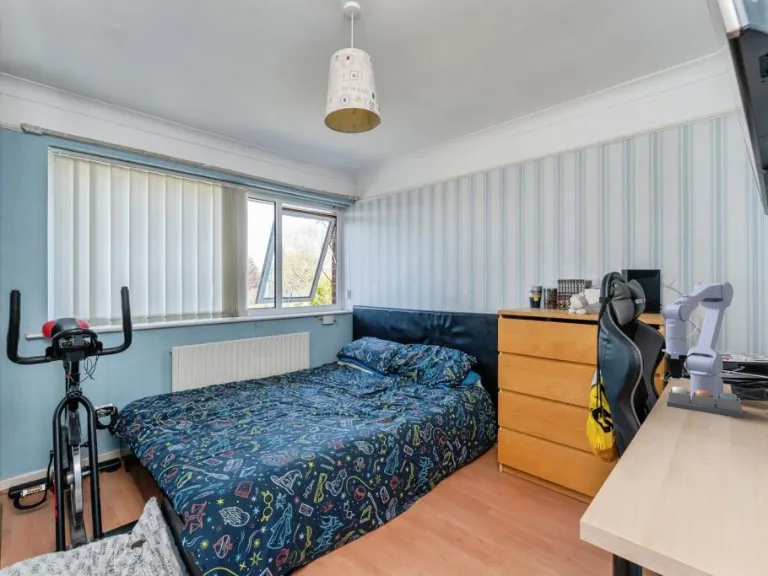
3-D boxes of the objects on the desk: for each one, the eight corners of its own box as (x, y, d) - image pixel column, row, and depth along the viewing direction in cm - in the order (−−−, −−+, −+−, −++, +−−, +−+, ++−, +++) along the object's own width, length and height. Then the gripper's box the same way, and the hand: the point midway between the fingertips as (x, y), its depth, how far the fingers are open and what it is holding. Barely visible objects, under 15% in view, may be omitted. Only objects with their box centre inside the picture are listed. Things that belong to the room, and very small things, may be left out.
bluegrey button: (720, 403, 120) (719, 394, 120) (720, 401, 123) (719, 392, 123) (737, 406, 117) (736, 396, 117) (736, 403, 120) (736, 394, 120)
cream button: (671, 396, 128) (671, 388, 128) (672, 394, 131) (672, 385, 131) (686, 398, 125) (686, 390, 125) (687, 396, 128) (687, 387, 128)
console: (667, 405, 127) (666, 392, 127) (669, 400, 134) (669, 387, 134) (743, 418, 114) (742, 403, 114) (741, 411, 121) (741, 397, 121)
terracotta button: (695, 400, 124) (695, 391, 124) (695, 397, 127) (695, 388, 127) (711, 402, 121) (710, 393, 121) (711, 399, 124) (711, 390, 124)
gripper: (664, 335, 138) (664, 371, 138) (659, 339, 127) (660, 378, 127) (688, 336, 133) (689, 374, 133) (686, 340, 123) (686, 381, 122)
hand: (676, 376), depth 130 cm, fingers open, 6 cm apart
